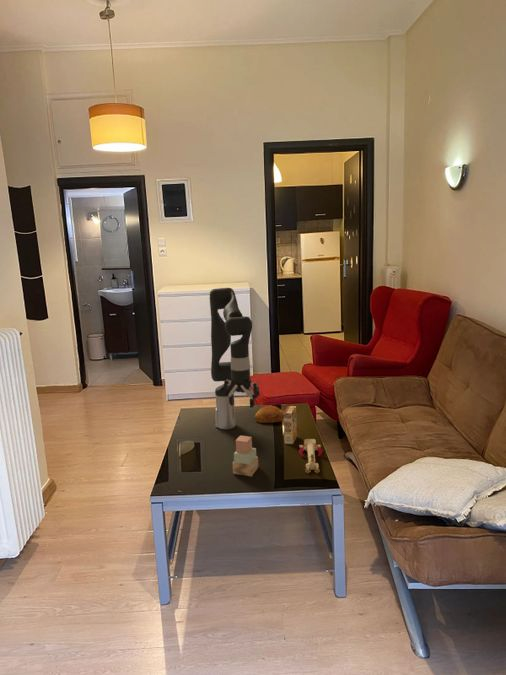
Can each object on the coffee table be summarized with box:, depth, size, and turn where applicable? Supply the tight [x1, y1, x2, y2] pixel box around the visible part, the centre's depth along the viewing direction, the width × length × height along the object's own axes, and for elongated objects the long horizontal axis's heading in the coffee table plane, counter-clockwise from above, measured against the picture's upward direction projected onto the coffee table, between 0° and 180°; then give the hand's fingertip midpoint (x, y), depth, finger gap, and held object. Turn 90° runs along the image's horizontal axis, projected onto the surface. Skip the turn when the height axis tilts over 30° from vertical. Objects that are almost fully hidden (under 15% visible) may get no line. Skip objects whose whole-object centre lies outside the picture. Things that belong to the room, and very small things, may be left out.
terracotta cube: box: [235, 435, 253, 453], centre depth 200 cm, size 5×5×5 cm
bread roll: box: [254, 405, 284, 424], centre depth 255 cm, size 14×16×8 cm
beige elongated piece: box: [298, 438, 323, 474], centre depth 209 cm, size 10×9×25 cm
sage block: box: [233, 447, 257, 465], centre depth 201 cm, size 7×7×4 cm
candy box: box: [283, 405, 298, 445], centre depth 227 cm, size 9×4×15 cm, turn 162°
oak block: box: [232, 455, 259, 477], centre depth 202 cm, size 8×8×5 cm
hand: (242, 406), depth 197 cm, fingers open, 8 cm apart
